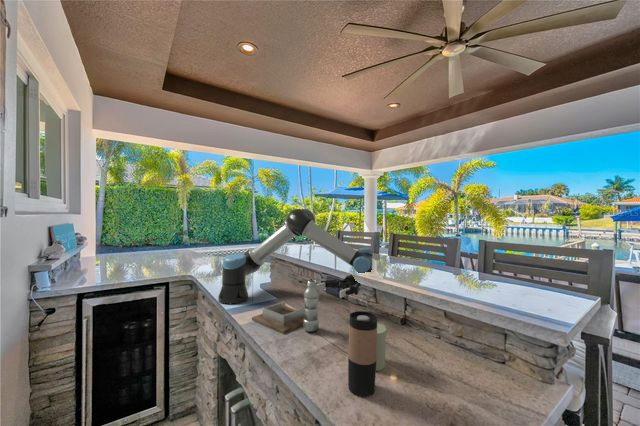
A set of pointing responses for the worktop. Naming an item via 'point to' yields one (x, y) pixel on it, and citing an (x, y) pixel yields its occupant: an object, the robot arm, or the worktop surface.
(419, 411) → the worktop surface
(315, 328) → the plastic bottle
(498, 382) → the worktop surface
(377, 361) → the can
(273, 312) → the grey square tray
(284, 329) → the board
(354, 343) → the travel mug
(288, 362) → the worktop surface
